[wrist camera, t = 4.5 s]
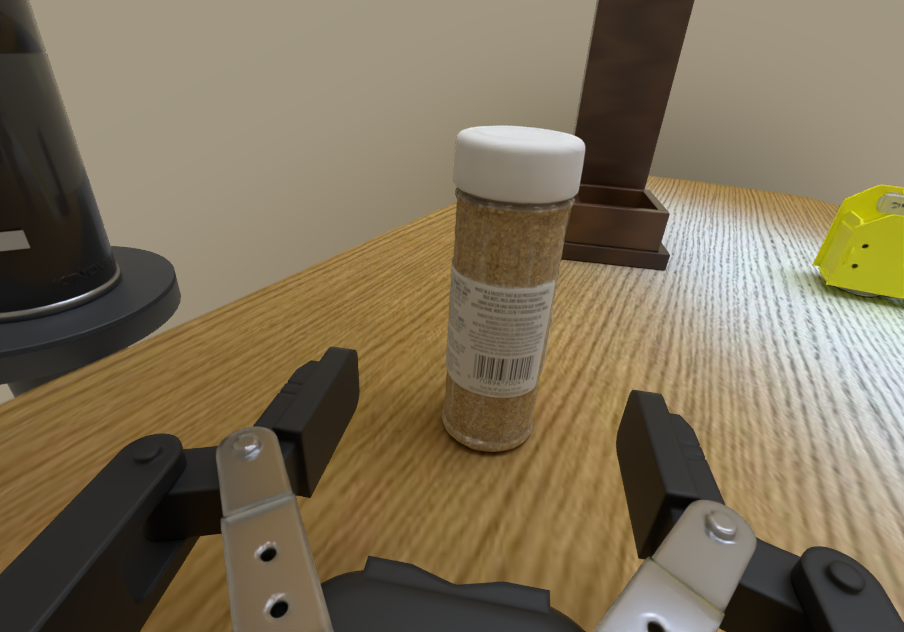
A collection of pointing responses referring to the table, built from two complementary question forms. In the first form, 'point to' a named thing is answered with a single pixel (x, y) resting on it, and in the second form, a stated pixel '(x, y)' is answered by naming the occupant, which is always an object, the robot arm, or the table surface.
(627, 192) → the walnut stand
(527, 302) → the sprinkles bottle
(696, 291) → the table surface
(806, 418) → the table surface
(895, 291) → the yellow toy chassis
